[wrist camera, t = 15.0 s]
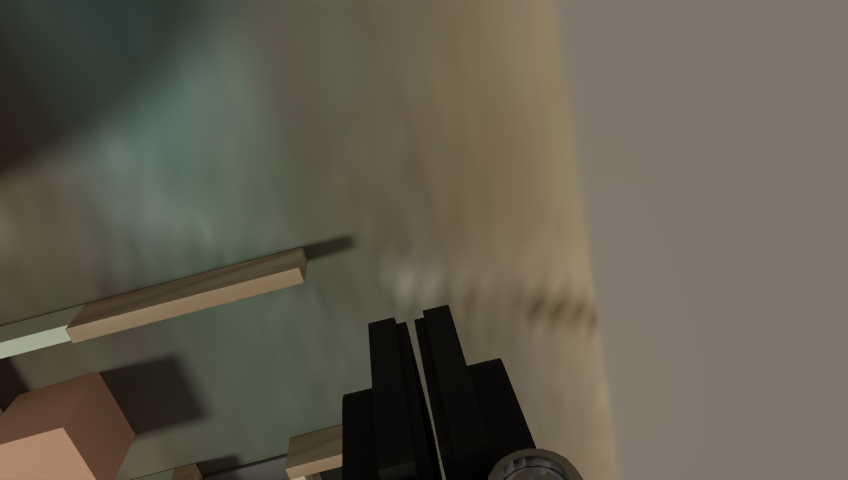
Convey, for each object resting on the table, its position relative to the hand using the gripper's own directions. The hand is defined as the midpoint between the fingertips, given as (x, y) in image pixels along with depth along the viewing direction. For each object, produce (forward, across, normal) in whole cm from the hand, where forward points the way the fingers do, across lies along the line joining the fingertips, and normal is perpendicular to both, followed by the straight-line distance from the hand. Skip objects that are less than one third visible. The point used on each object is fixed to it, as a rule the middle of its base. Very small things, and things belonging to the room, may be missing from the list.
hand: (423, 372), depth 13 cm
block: (+25, +24, +16) cm, 38 cm away
